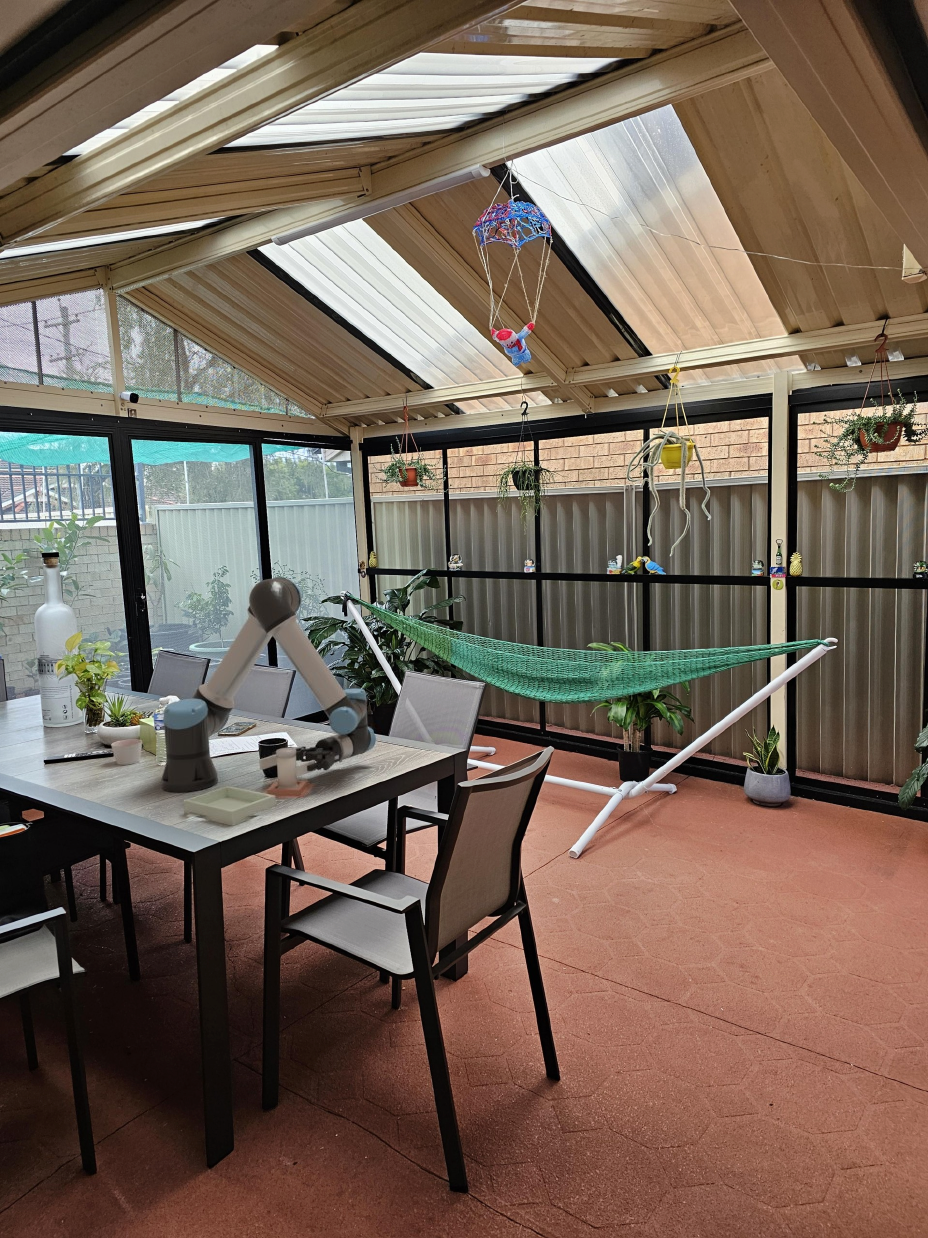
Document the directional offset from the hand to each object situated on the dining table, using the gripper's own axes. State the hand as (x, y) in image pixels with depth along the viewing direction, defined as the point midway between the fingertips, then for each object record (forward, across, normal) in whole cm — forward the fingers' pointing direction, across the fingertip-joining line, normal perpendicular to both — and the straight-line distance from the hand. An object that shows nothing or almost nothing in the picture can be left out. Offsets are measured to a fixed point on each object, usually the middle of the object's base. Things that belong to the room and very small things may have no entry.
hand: (278, 768), depth 221 cm
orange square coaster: (-3, 0, -8) cm, 9 cm away
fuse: (-3, 0, -7) cm, 8 cm away
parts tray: (+14, +3, -8) cm, 17 cm away
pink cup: (-3, +70, -8) cm, 71 cm away
